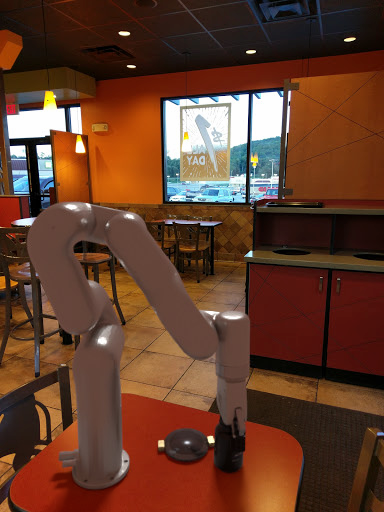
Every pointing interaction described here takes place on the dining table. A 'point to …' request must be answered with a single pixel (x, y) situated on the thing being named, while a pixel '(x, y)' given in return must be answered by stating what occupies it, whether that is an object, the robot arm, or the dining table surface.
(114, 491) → the dining table surface
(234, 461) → the supplement bottle
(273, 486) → the dining table surface
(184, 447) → the base
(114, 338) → the robot arm
